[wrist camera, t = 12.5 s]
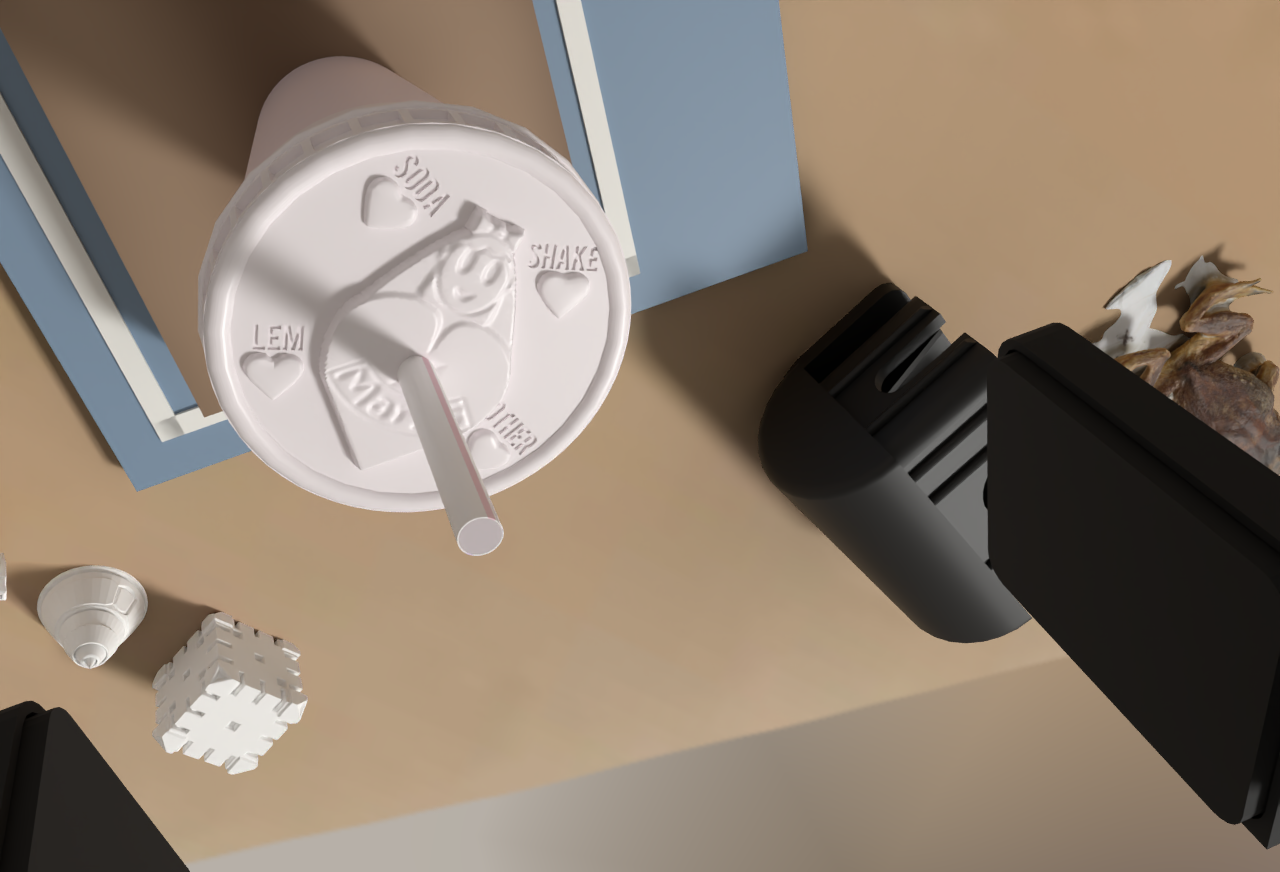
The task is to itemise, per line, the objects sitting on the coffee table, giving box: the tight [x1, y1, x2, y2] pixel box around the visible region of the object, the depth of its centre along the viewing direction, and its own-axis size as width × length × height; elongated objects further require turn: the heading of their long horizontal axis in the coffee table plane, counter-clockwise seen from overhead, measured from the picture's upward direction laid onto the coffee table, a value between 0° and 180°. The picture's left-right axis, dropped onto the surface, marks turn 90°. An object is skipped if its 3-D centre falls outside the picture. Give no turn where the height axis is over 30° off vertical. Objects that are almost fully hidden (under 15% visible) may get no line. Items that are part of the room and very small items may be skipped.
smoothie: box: [198, 56, 631, 556], centre depth 18 cm, size 6×6×14 cm
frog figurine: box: [1092, 255, 1280, 475], centre depth 42 cm, size 12×12×4 cm
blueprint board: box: [0, 0, 808, 491], centre depth 27 cm, size 20×16×1 cm
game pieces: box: [0, 553, 308, 775], centre depth 31 cm, size 12×3×3 cm, turn 44°
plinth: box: [0, 0, 572, 418], centre depth 25 cm, size 10×10×3 cm
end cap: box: [758, 283, 1032, 643], centre depth 36 cm, size 10×7×7 cm
